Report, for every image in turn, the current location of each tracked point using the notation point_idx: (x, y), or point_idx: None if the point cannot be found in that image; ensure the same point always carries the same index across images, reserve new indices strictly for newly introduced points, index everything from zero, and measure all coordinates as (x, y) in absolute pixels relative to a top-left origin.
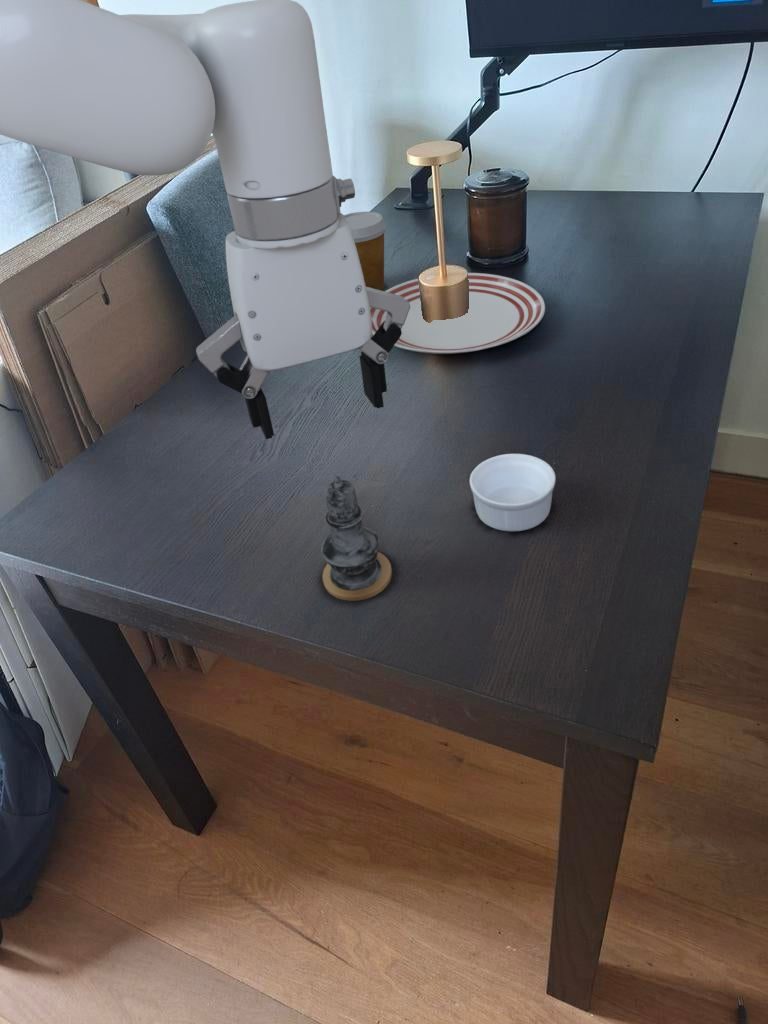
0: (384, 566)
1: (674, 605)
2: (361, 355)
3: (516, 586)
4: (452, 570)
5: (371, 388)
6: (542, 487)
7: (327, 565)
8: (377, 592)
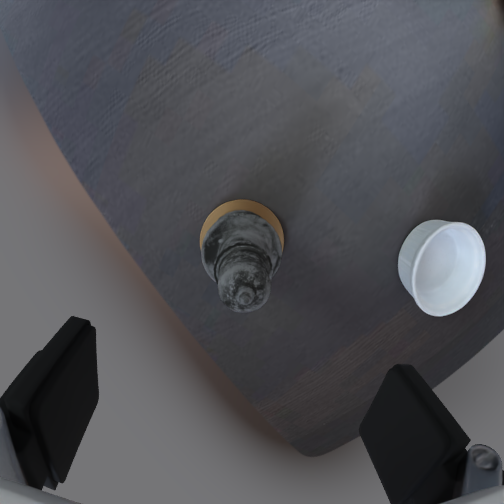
0: None
1: None
2: (451, 440)
3: (355, 345)
4: (328, 296)
5: (379, 453)
6: (461, 269)
7: (218, 210)
8: None
